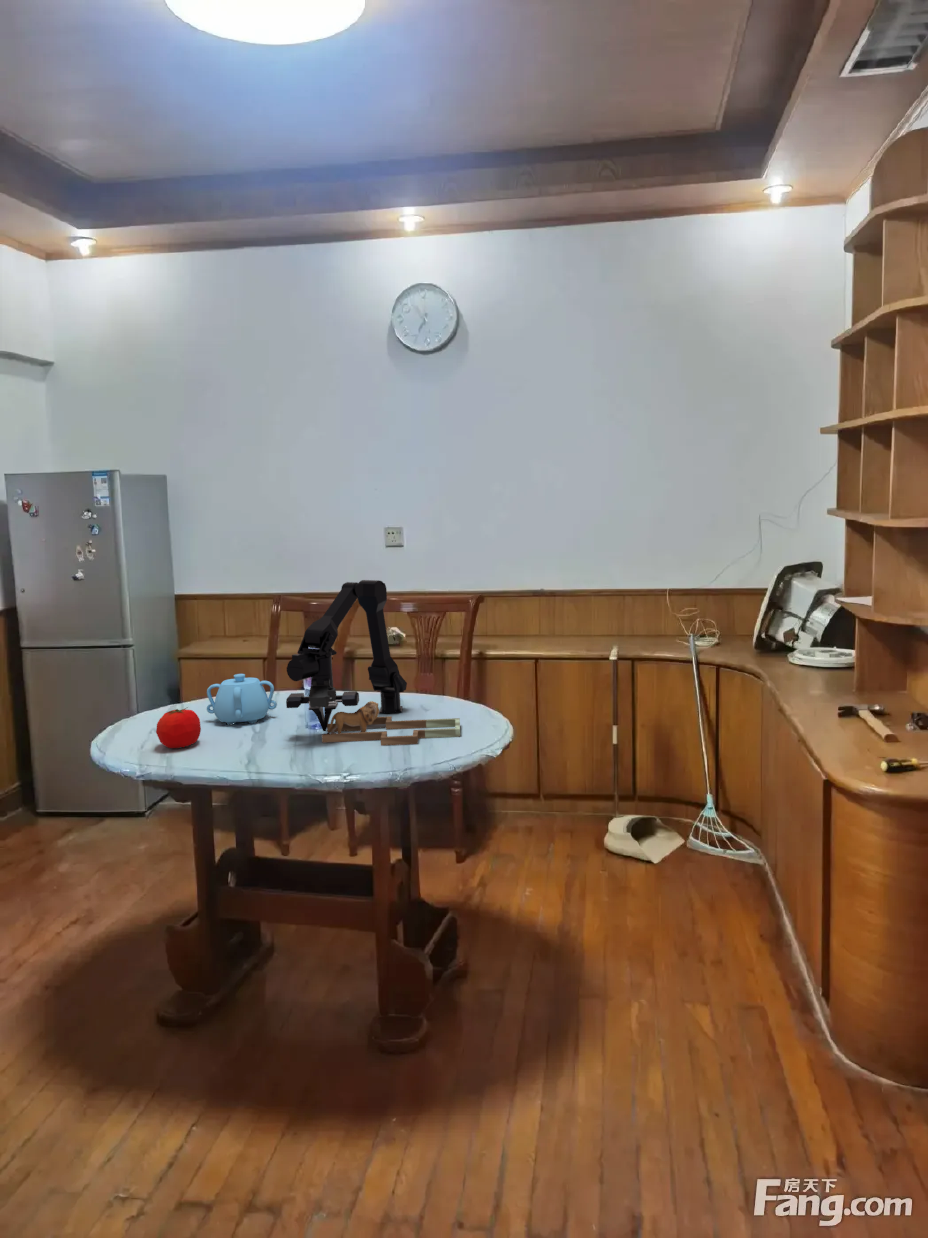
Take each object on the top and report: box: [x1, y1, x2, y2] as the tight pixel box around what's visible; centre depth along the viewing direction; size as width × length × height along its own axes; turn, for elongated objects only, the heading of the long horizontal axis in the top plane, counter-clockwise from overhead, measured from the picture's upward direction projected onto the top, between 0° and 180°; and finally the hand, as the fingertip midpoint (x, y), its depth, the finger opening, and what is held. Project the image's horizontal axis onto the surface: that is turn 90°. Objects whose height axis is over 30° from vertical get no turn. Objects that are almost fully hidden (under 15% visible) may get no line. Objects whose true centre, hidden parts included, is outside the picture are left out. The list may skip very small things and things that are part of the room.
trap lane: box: [321, 716, 461, 747], centre depth 250 cm, size 22×36×2 cm, turn 91°
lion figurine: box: [326, 700, 380, 734], centre depth 249 cm, size 15×5×9 cm, turn 102°
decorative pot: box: [206, 673, 278, 725], centre depth 271 cm, size 16×16×14 cm
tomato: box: [155, 706, 202, 749], centre depth 246 cm, size 11×13×10 cm
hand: (324, 731), depth 250 cm, fingers closed
